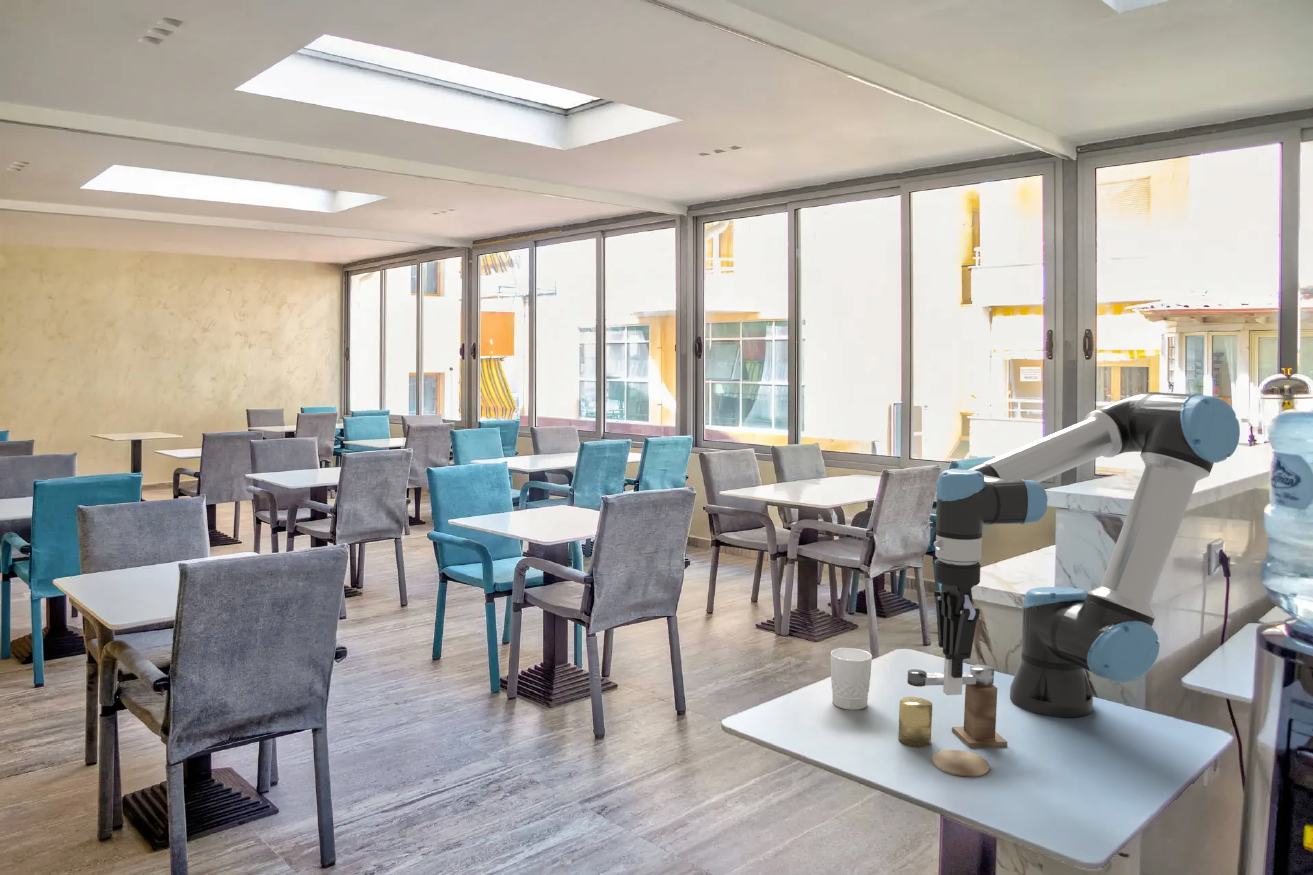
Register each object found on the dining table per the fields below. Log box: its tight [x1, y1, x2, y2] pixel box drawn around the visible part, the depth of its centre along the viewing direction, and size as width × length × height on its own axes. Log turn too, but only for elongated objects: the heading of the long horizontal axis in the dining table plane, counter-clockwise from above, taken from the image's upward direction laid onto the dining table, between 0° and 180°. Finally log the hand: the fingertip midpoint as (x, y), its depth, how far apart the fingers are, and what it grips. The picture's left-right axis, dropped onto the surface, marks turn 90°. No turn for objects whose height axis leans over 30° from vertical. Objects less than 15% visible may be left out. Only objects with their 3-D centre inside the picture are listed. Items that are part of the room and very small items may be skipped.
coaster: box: [932, 749, 990, 778], centre depth 155 cm, size 9×9×1 cm
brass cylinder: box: [897, 696, 933, 749], centre depth 164 cm, size 6×6×7 cm
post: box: [951, 683, 1008, 748], centre depth 166 cm, size 7×7×10 cm
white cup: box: [830, 647, 873, 711], centre depth 181 cm, size 8×8×10 cm
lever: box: [907, 664, 995, 688], centre depth 164 cm, size 16×4×2 cm, turn 96°
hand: (952, 693), depth 161 cm, fingers closed
